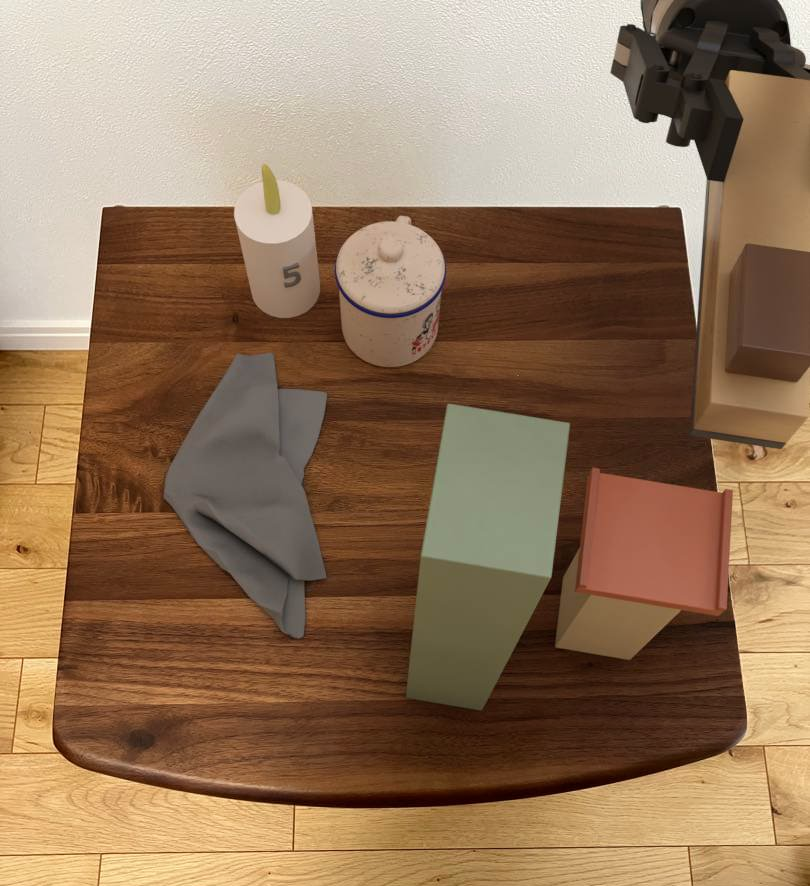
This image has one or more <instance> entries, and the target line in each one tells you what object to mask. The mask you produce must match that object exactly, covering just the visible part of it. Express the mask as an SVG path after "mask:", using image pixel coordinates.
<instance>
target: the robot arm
mask: <svg viewBox="0 0 810 886" xmlns="http://www.w3.org/2000/svg"><path fill="white" fill-rule="evenodd" d="M640 11H641V17H642V23H641V24H642V28H643V29H642V28H640V27H637V25H635V24H633V23H627V24H626V25H620V27H619V30H618V35H617V40H616V44H615V50H614V54H613V59H612V63H611V67H610V71H609V72H610V74H611V76H614V77H615V78H617V79H618V80H619V81H621V82H622V83H623V86H624V89H625V93H626V96H627V100H628V104H629V107H630V109H631V113H632V117H633V118H634V120H637V121H638V122H639V123H643V124H650V123H656V122H658V119H659V115H661V116H664V117H667V118H670V119H671V120H670V123H669V127H668V130H667V134H666V138H665V143H667V145H670V146H674V147H679V148H688V147H689V146H690V144H691V141H694V144H695V148H696V150H697V153H698V156H699V159H700V162H701V166H702V168H703V171H704V174H705V177H706V181H707V180H711V181H718V182H724V181H725V178H726V175H727V172H728V168H729V165H730V162H731V159H732V155H733V152H734V149H735V146H736V142H737V139H738V136H739V133H740V130H741V126H742V123H743V120H744V119H743V117H742V115H741V113H740V110H739V108H738V106H737V104H736V102H735V100H734V98H733V96H732V94H731V92H730V90H729V89H728V87H727V85H726V83H725V81H726V79H727V76H728V74H729V72H730V70H735V71H742V72H750V73H758V74H765V75H773V76H780V77H788V78H796V79H803V80H810V64H808V63H806V62H807V58H806V54H805V53H804V51H802V50H801V49H799V48H797V47H794V46H792V42H791V32H790V25H789V21H788V20H789V19H788V17H787V14H786V11H785V9H784V8H783V6H782V4H781V2H780V1H779V0H640Z"/></svg>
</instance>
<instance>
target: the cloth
mask: <svg viewBox="0 0 810 886" xmlns="http://www.w3.org/2000/svg"><path fill="white" fill-rule="evenodd" d="M327 401H328V394H327V393H326V392H325V391H318V390H311V389H310V390H309V389H298V388H278V381H277V372H276V363H275V354H274V353H271V352H266V353H265V352H264V353H259V354H254V355H253V354H252V355H247V354H244V353H239V352H238V353H236V355H235V357H234V358H233V360H232V361H231V363H230V365H229V366H228V368H227V370H226V371H225V373H224V375H223V376H222V377H221V380H219V383H218V384H217V386H216V387H215V389H214V390H213V392H212V393H211V395H210V397H209V398H208V400H207V401H206V403H205V404H204V406H203V407H202V408H201V410H200V412H199V413H198V415H197V417H196V419H195V420H194V422H193V424H192V426H191V427H190V429H189V431H188V433H187V435H186V436H185V438H184V439H183V442H182V443H181V446H180V447H179V449H178V451H177V452H176V455H175V456H174V459H173V460H172V462H171V463H170V465H169V466H168V470H167V472H166V475H165V479H164V488H163V489H164V490H163V499H164V500H165V501H166V502H167V503H168V504H169V506H171V507H172V509H173V511H174V512H175V513H176V515H177V516H178V518H179V519H180V521H181V522H182V524H183V525H184V527H185V528H186V529H187V531H188V533H189V534H190V535H191V537H192V539H193V540H194V541H195V543H197V545H198V546H199V547H200V548H201V550H203V551H204V552H205V553H206V554H207V555H208V556H209V557H210V558H211V559H212V560H213V561H214V562H215V564H217V565H218V566H219V567H220V569H222V570H224V571H226V572H227V573H229V574H230V575H231V576H232V579H234V580H235V581H236V583H237V584H238V585H239V586H240V588H241V589H242V590H243V591H244V593H246V595H247V596H248V597H249V598H250V599H251V600H252V601H253V602H254V603H255V604H256V605H257V606H258V607H259V608H260V609H262V610H263V611H264V612H265V613H266V614H267V615H268V616H269V617H270V618H271V619H272V620H273V621H274V623H275V624H276V625H277V627H278V628H279V630H280V631H281V633H284V634H286V635H288V636H290V637H292V638H293V639H296V640H300V639H302V638H304V635H305V627H306V619H307V618H306V593H305V592H306V590H305V582H306V581H307V582H312V581H313V582H314V581H319V580H320V581H321V580H326V579H328V577H327V572H326V568H325V563H324V560H323V556H322V550H321V548H320V547H321V546H320V542H319V539H318V535H317V531H316V528H315V525H314V521H313V518H312V514H311V510H310V506H309V502H308V498H307V494H306V491H305V489H304V487H303V485H302V484H303V480H304V477H305V468H306V466H307V464H308V463H309V461H310V460H311V457H312V456H313V453H314V451H315V449H316V446H317V443H318V440H319V438H320V434H321V430H322V426H323V422H324V418H325V415H326V408H327V407H326V406H327Z"/></svg>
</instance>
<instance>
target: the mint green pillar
mask: <svg viewBox="0 0 810 886" xmlns="http://www.w3.org/2000/svg"><path fill="white" fill-rule="evenodd" d="M570 428H571V423H570V422H565V421H559V420H553V419H547V418H540V417H535V416H529V415H522V414H518V413H517V414H516V413H510V412H504V411H497V410H493V409H492V410H491V409H485V408H478V407H473V406H466V405H459V404H455V403H454V404H453V403H447V404H446V409H445V415H444V421H443V426H442V433H441V437H440V443H439V449H438V454H437V459H436V467H435V472H434V478H433V483H432V489H431V494H430V501H429V506H428V512H427V518H426V523H425V529H424V535H423V541H422V547H421V552H420V559H419V570H418V579H417V588H416V597H415V607H414V615H413V616H414V617H413V623H412V624H413V625H412V635H411V645H410V655H409V662H408V673H407V682H406V692H405V698H406V699H411V700H416V701H422V702H429V703H434V704H440V705H445V706H446V705H447V706H452V707H457V708H463V709H468V710H475V711H479V712H480V711H483V709H484V707H485V705H486V703H487V702H488V699H489V698H490V696H491V694H492V692H493V690H494V688H495V687H496V685H497V682H498V681H499V679H500V677H501V675H502V673H503V671H504V668H505V667H506V665H507V663H508V661H509V660H510V658H511V655H512V654H513V652H514V650H515V648H516V646H517V644H518V642H519V640H520V638H521V636H522V634H523V633H524V631H525V628H526V627H527V625H528V623H529V621H530V619H531V617H532V615H533V614H534V611H535V609H536V608H537V606H538V604H539V602H540V600H541V598H542V596H543V594H544V593H545V590H546V588H547V587H548V584H549V582H550V581H551V580H552V575H553V568H554V559H555V552H556V543H557V535H558V526H559V518H560V510H561V502H562V495H563V486H564V479H565V470H566V462H567V453H568V446H569V436H570V431H571V430H570Z"/></svg>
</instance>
